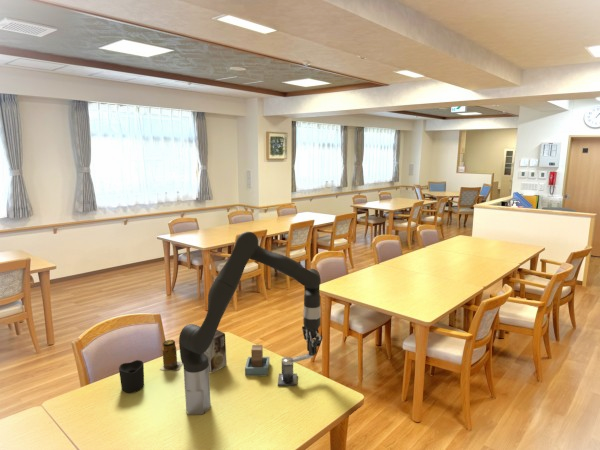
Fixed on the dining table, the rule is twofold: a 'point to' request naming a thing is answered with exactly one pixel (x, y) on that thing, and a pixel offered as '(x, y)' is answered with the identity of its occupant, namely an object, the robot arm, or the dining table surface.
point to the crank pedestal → (287, 377)
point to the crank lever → (298, 357)
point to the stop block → (257, 355)
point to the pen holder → (132, 376)
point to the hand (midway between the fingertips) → (311, 352)
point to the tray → (257, 368)
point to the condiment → (170, 356)
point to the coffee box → (217, 352)
